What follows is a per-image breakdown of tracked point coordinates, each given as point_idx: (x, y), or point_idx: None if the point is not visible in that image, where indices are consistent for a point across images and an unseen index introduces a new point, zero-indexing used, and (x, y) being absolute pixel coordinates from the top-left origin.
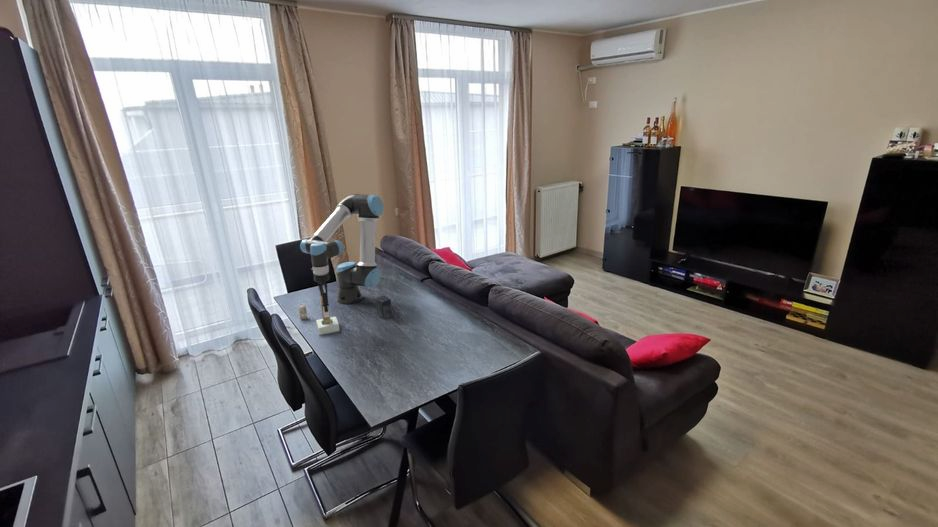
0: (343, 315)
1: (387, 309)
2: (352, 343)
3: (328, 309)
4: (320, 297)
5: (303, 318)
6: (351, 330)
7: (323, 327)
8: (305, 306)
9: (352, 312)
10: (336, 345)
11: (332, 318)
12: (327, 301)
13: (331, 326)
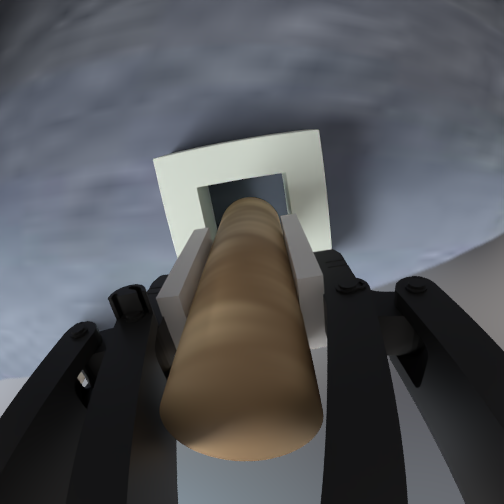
0: (69, 121)
1: None
2: (474, 84)
3: (311, 250)
4: (229, 459)
5: None
6: (323, 52)
7: (331, 247)
8: None
9: (47, 72)
10: (470, 165)
11: (188, 183)
12: (473, 337)
13: (324, 187)
